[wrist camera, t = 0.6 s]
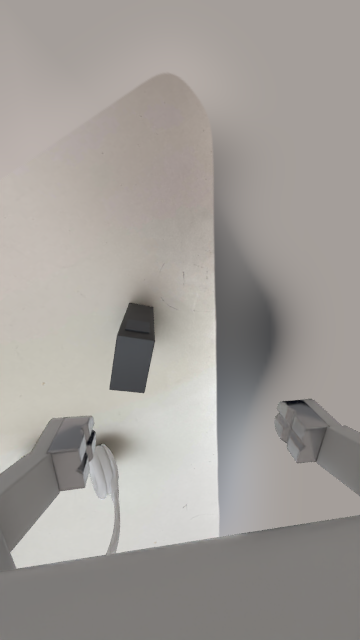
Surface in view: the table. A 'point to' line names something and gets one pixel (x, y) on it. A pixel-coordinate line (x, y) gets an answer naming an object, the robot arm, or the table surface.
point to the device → (133, 349)
